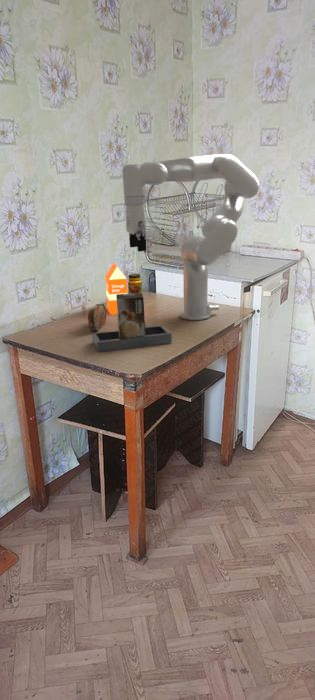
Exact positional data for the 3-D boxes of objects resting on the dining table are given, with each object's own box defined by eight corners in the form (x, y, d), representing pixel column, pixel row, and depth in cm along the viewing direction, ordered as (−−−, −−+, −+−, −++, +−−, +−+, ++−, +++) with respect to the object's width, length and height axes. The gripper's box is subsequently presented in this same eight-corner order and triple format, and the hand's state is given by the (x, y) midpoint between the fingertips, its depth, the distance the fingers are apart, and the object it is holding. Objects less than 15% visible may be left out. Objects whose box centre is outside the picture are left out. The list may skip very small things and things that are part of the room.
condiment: (133, 303, 230) (132, 277, 226) (123, 299, 237) (121, 273, 232) (146, 300, 234) (145, 274, 230) (136, 297, 241) (135, 271, 236)
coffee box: (144, 336, 185) (142, 292, 180) (146, 342, 179) (144, 297, 174) (118, 337, 184) (116, 293, 179) (119, 343, 178) (117, 298, 173)
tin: (95, 333, 193) (94, 311, 190) (87, 333, 193) (86, 311, 190) (107, 321, 206) (106, 301, 203) (100, 321, 207) (98, 300, 204)
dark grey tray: (162, 334, 190) (162, 324, 189) (171, 343, 181) (171, 333, 179) (92, 342, 183) (91, 333, 182) (97, 352, 174) (97, 342, 173)
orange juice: (110, 314, 215) (107, 266, 208) (107, 308, 223) (104, 262, 216) (128, 312, 217) (126, 265, 210) (125, 307, 225) (122, 261, 218)
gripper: (118, 200, 192) (121, 246, 198) (131, 203, 176) (135, 253, 183) (137, 198, 194) (140, 244, 200) (152, 201, 179) (155, 251, 185)
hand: (138, 248), depth 191 cm, fingers open, 9 cm apart
